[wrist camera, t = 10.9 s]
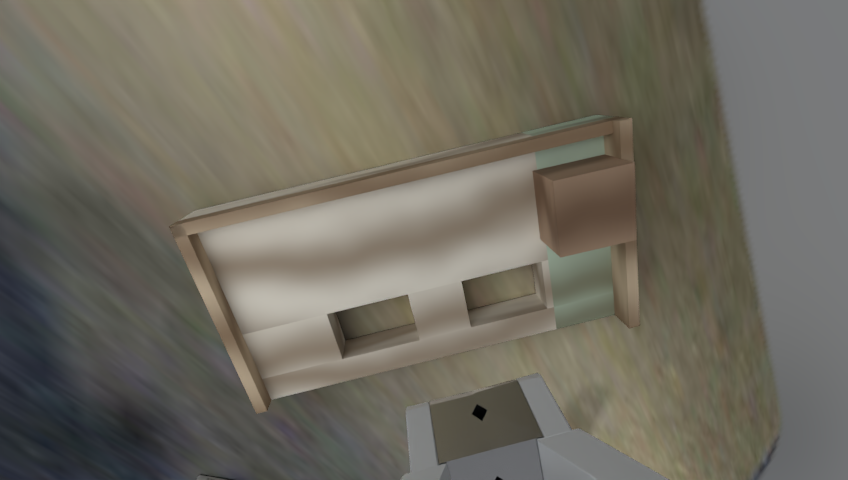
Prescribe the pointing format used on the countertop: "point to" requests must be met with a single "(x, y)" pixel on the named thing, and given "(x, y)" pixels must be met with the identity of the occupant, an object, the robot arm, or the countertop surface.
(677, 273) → the countertop surface
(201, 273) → the box
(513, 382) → the robot arm
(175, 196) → the countertop surface
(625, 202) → the walnut block
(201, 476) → the coffee box
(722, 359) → the countertop surface
